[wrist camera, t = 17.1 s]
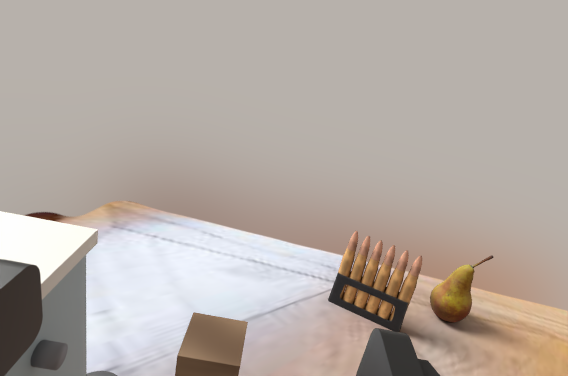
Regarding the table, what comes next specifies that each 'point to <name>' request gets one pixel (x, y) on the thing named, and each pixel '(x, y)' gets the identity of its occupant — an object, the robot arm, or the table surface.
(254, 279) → the table surface
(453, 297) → the fruit
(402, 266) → the ammunition clip
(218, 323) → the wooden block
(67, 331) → the cabinet
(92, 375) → the steel puck
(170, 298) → the table surface
